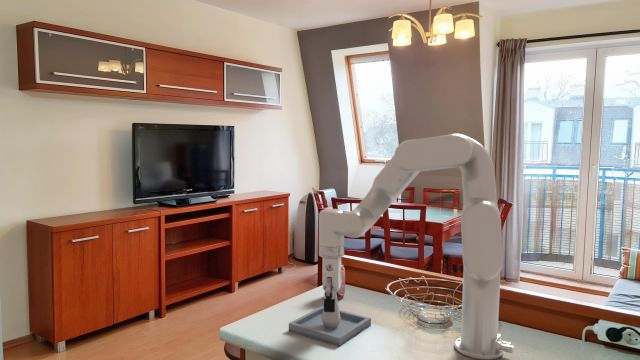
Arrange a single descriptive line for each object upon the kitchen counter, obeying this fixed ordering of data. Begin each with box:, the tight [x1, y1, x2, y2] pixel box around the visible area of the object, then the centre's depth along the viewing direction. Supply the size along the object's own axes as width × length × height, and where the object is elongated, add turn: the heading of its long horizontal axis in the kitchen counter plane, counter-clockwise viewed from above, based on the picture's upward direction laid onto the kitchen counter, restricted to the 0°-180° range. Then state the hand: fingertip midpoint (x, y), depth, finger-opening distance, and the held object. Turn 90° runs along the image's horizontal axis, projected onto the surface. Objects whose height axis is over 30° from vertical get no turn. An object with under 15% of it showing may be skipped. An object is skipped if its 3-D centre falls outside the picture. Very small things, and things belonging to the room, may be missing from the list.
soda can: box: [338, 263, 346, 300], centre depth 171 cm, size 7×7×12 cm
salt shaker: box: [321, 290, 341, 328], centre depth 143 cm, size 6×6×13 cm
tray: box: [288, 305, 372, 347], centre depth 144 cm, size 18×18×2 cm
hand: (331, 305), depth 143 cm, fingers open, 9 cm apart
